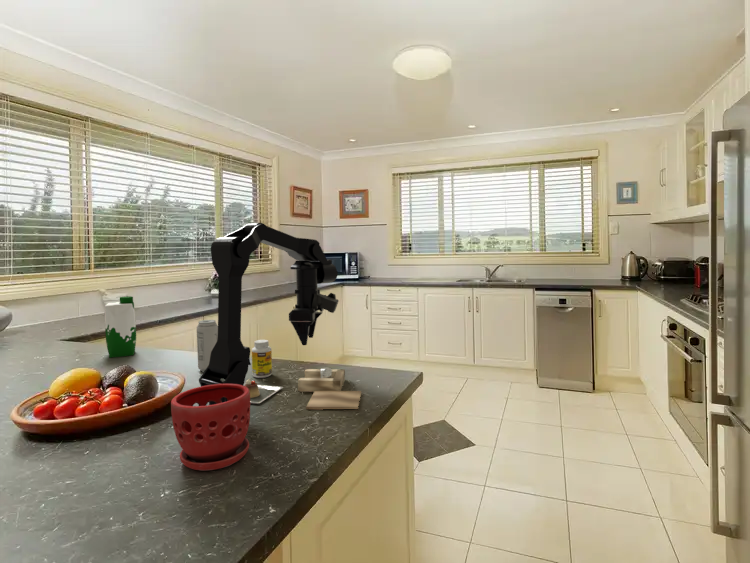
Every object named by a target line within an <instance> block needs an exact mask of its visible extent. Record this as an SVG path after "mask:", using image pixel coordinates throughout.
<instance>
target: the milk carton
mask: <svg viewBox="0 0 750 563" xmlns="http://www.w3.org/2000/svg"><path fill="white" fill-rule="evenodd" d="M135 309H136V308H135V303H134V296H131V295H129V296H127V295H126V296H120V297H119V301H116V302H107V304H105V305H104V327H105V328H104V329H105V344H106V348H107V353H108V357H109V359H110V358H120V357H131V355H132V356H134V355H135V351H136V344H137V326H136V325H137V324H136V323H137V322H136V310H135Z"/></svg>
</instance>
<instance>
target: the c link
mask: <svg viewBox="0 0 750 563" xmlns="http://www.w3.org/2000/svg"><path fill="white" fill-rule="evenodd" d="M320 369H321V368H317V369H316V368H306V369H305V370H304V377H299V379H298V380H297V381H298V382H297V387H298V388H297V389H298V390H297V391H298V392H301V393H302V392H307V393H309V392H310V393H311V392H313V393H314V391H342V389H343V387H344V384H345V382H346V371H345V370H346V369H345V368H343V369H341V368H340V369H338V368H337V369H336V368H335V369H332V378H321V372H320ZM342 386H343V387H342Z"/></svg>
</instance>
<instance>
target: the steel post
mask: <svg viewBox="0 0 750 563" xmlns="http://www.w3.org/2000/svg"><path fill="white" fill-rule="evenodd" d="M319 369H320V372H321V378H332V368H331V367H327V366H325V367H321V368H319Z"/></svg>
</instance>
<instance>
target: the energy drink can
mask: <svg viewBox="0 0 750 563" xmlns="http://www.w3.org/2000/svg"><path fill="white" fill-rule="evenodd" d="M217 340H218V323H217V322H216V320H215V319H204V320H199V321H198V324H197V326H196V344H197V345H196V348H197V367H198V370H200V371H199V372H201V371H202V372H201V373H204V371H205V370H206V368H207V367H208V365H209V361H210V355H211V351H212V349H213V348H214V346H215V344H216V342H217Z"/></svg>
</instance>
